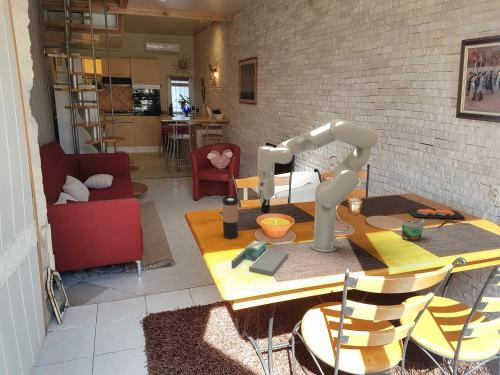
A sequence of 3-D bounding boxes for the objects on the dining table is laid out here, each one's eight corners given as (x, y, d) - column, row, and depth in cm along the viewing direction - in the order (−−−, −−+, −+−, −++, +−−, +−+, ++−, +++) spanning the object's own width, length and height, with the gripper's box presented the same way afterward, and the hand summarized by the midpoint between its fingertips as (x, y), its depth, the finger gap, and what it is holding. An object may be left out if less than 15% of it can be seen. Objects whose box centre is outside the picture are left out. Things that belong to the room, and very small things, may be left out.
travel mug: (230, 232, 197) (229, 195, 192) (241, 236, 193) (241, 198, 188) (220, 236, 192) (219, 198, 187) (231, 240, 187) (230, 201, 182)
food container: (407, 243, 184) (409, 224, 181) (399, 239, 189) (401, 220, 187) (428, 241, 187) (431, 222, 184) (420, 236, 193) (422, 218, 190)
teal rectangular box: (266, 252, 173) (266, 241, 172) (257, 260, 164) (257, 250, 163) (254, 249, 175) (254, 239, 174) (245, 258, 167) (245, 247, 165)
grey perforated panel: (287, 256, 169) (288, 250, 168) (272, 276, 151) (272, 269, 151) (250, 249, 176) (250, 243, 175) (231, 267, 158) (231, 261, 158)
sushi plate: (455, 213, 232) (456, 207, 231) (479, 230, 203) (480, 224, 202) (406, 211, 234) (406, 205, 233) (422, 228, 205) (423, 222, 205)
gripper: (267, 177, 163) (267, 218, 167) (279, 171, 176) (278, 208, 181) (251, 176, 165) (251, 216, 170) (264, 169, 179) (264, 206, 184)
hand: (265, 212), depth 175 cm, fingers closed
